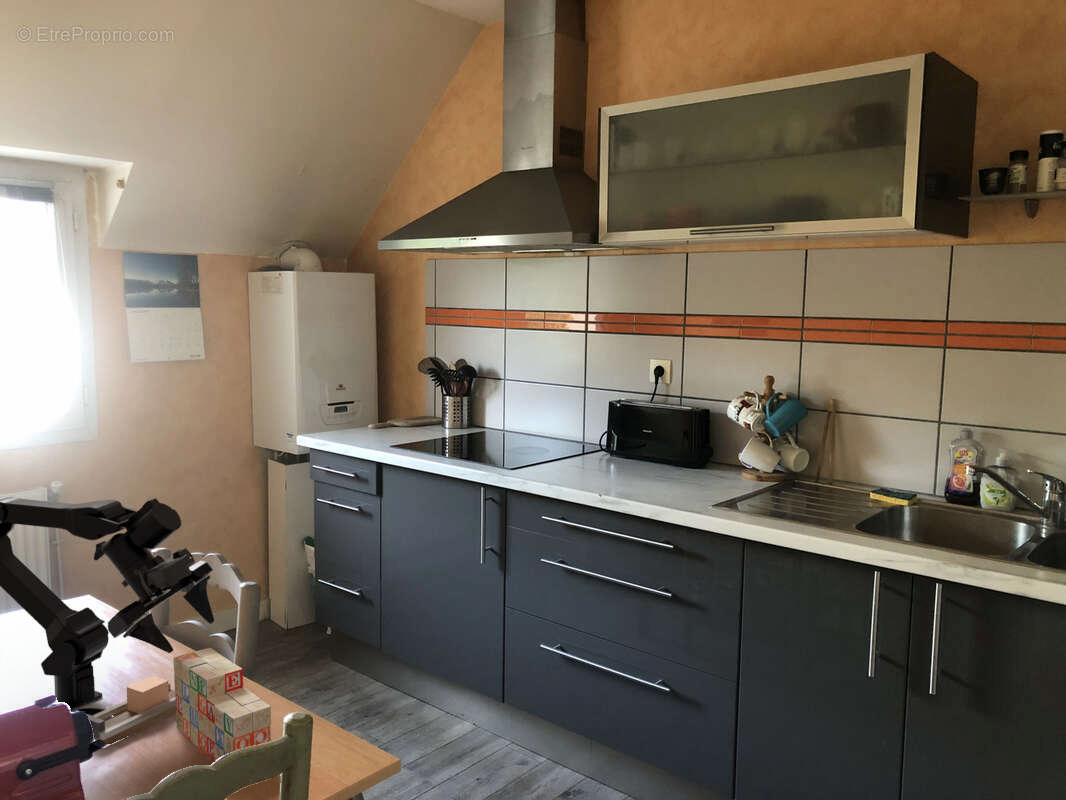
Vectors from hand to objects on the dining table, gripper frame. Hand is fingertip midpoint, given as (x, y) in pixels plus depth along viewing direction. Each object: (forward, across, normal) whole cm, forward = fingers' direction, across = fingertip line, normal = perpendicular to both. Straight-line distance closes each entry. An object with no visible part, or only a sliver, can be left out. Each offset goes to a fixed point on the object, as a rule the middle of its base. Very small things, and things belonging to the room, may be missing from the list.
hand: (192, 636), depth 144 cm
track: (+5, -10, +12) cm, 16 cm away
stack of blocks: (+17, -9, -2) cm, 19 cm away
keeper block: (+5, -7, +11) cm, 14 cm away
